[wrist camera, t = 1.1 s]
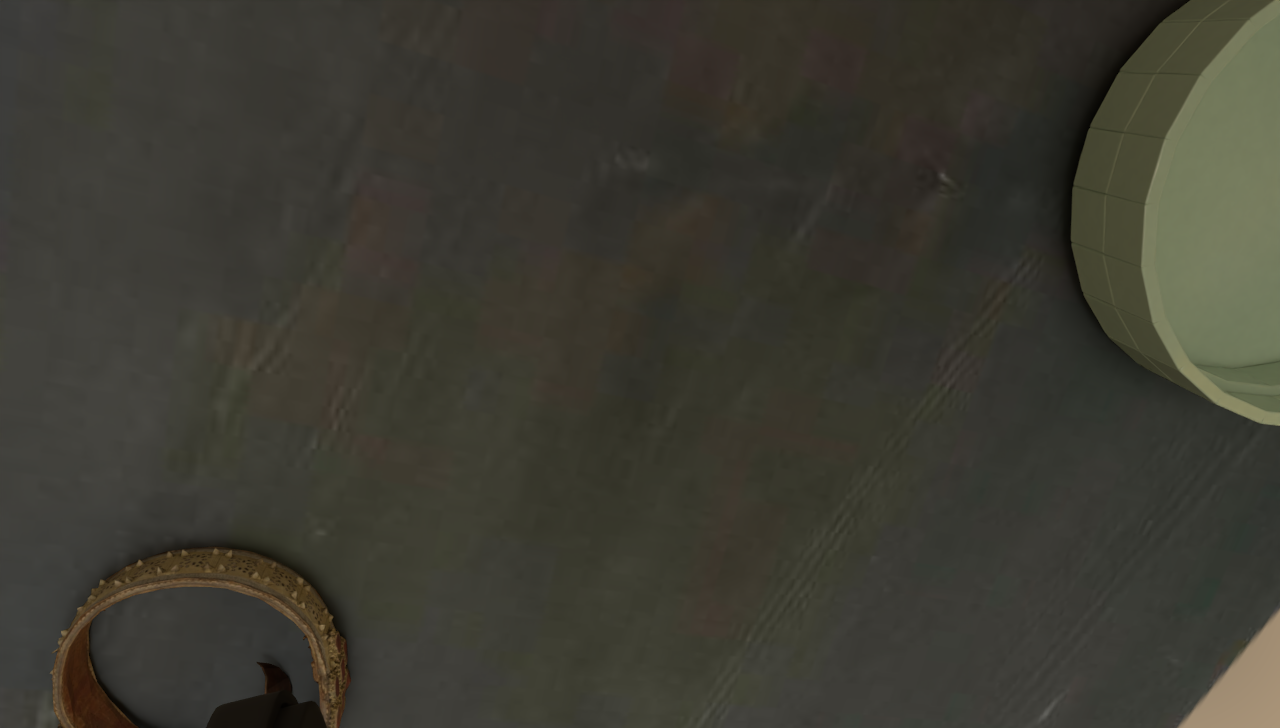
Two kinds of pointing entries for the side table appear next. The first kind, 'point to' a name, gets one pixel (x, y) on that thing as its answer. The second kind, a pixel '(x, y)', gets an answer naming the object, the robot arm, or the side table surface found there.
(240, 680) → the side table surface
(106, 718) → the bracelet
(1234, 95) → the bowl
